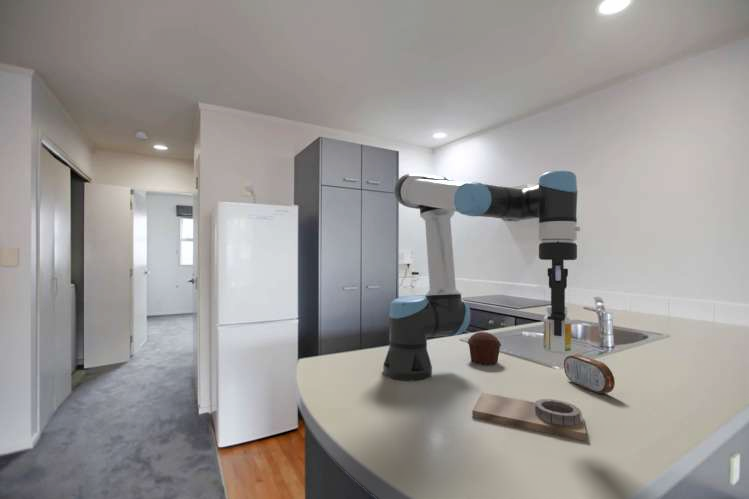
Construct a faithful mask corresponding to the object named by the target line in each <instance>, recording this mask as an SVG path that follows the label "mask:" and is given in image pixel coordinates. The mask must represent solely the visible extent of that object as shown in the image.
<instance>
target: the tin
mask: <svg viewBox="0 0 749 499" xmlns="http://www.w3.org/2000/svg"><path fill="white" fill-rule="evenodd" d="M563 369H564V373H565V375H566V377H567V379H568V380H569V381H570V382H571V383H572V384H575V385H576V386H579V387H581V388H583V389H585V390H588V391H590V392H593V393H596V394H599V395H600V394H601V395H602V394H609V393H611V392H612V391H613V390H614V388H615V385H616V384H615V377H614V374H613V372H612V370H611V369H610V367H609V366H608V365H606V364H605V363H604V362H602V361H600V360H596V359H593V358H590V357H587V356H585V355H582V354H579V353H576V354H571V355H568V356H566V357H565V358H564V360H563Z"/></svg>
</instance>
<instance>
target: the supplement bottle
mask: <svg viewBox="0 0 749 499" xmlns="http://www.w3.org/2000/svg"><path fill="white" fill-rule="evenodd" d="M546 312H547V315H545V316H544V317H543V333H542V334H543V344H542V345H543V350H544V351H545V352H549V353H552V354H557V355H558V354H559V355H566V354H567V355H568V354H570V353H571V352H572V320H571V318H570V317H568V316H566V317H565V319H564V320H565V352H560V351H551V350H550V323H551V320H548V319H547V316H551V305H547V306H546ZM566 314H568V307H566V306H565V315H566Z"/></svg>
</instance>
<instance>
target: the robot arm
mask: <svg viewBox="0 0 749 499" xmlns="http://www.w3.org/2000/svg"><path fill="white" fill-rule="evenodd" d="M538 178H539V179H538V183H537V184H538V185H535V186H532V187H527V188H513V187H507V186H501V185H500V186H498V185H493V184H485V183H481V182H476V181H475V182H473V181H472V182H471V181H469V182H468V181H467V182H462V181H461V182H460V181H455V180H453V179H451V178H448V177H444V176H436V175H430V174H429V175H428V174H424V173H423V174H421V173H415V172H413V173H406V174H404V175H402V176H400V177H399V178H398V180H397V181H396V182H395V185H394V190H393V192H394V197H395V199H396V201H397V202H398V203H399V204H401V205H402V206H403V207H406V208H410V209H417V210H419V214H420V218H421V219H423V221H424V224H425V238H426V254H427V269H428V281H429V282H428V284H429V286H428V287H429V290H428V291H427V293H426V294H425V296H423V295H413V296H411V295H409V296H402V297H397V298H395V299H393V300H392V301H391V302H390V306H389V314H388V316H389V337H388V338H389V339H388V340H389V341H388V344H389V346H388V350H387V353H386V356H385V358H384V362H383V365H382V366H383V367H382V368H383V371H382V372H383V374H384V375H385V376H387V377H389V378H392V379H395V380H399V381H400V380H401V381H421V380H426V379H429V378H431V377H432V375H433V365H432V361H431V358H430V355H429V352H428V344H427V343H428V342H427V341H428V338H435V337H452V336H455V335H460V334H462V333H464V332H465V331H466V329H467V328H468V327H469V325H470V322H471V309H470V306H469V305H468V302H467V301H466V300H464V299H463V298H462V293H461V292H460V291H459V290H458V289H457V287H456V276H455V274H456V273H455V261H454V259H455V258H454V249H453V234H452V222H451V218H452V217H453V216H454V215H455V212H456V213H459V214H461V215H465V216H468V217H484V218H494V219H501V220H502V221H504V222H515V223H516V222H520V221H524V220H526V221H527V220H532V219H538V240H539V241H540V243H539V244H538V258H539V259H540V260H541V261H542V260H543V261H544V260H545V261H551V268H550V267H549V268H547V277H548V288H549V289H550V306H551V316H547V315H546V316H547V319H548V320H551V323H550V350H551V351H560V352H565V320H564V319H565V317H568V315H567V314H568V313H567V314H566V315H565V307H566V306H565V305H566V303H565V302H566V293H565V292H566V291H565V290H566V289H567V286H568V284H567V280H568V279H567V278H568V276H569V269H568V268H564V267H565V265H564V264H565V263H564V261H575V260H577V259H578V245H577V243H576V240H577V237H578V235H577V234H578V233H577V232H580V231H581V227H580V226H577V224H578V222H577V221H578V219H577V212H578V211H577V206H578V193H579V190H578V186H577V184H578V183H577V175H576V174H575V173H574V172H572V171H569V170H554V171H553V170H552V171H548V172H545V173H543V174H541V175H540V176H539V177H538ZM574 241H575V242H574Z"/></svg>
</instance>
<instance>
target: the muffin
mask: <svg viewBox="0 0 749 499" xmlns="http://www.w3.org/2000/svg"><path fill="white" fill-rule="evenodd" d="M467 344H468V347H469V354H470V360H471V361H470V362H472V363H473V362H474V364H476V365H480V364H481V366H494V365H497V364H498V361H499V355H500V349H501V347H502V343H501V341H499V339H498V337H496V336H495V335H494V334H492V333H489V332H487V331H480V332H479V331H478V332H475V333H474V334H471V336H470V337H469V339H468V340H467Z"/></svg>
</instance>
